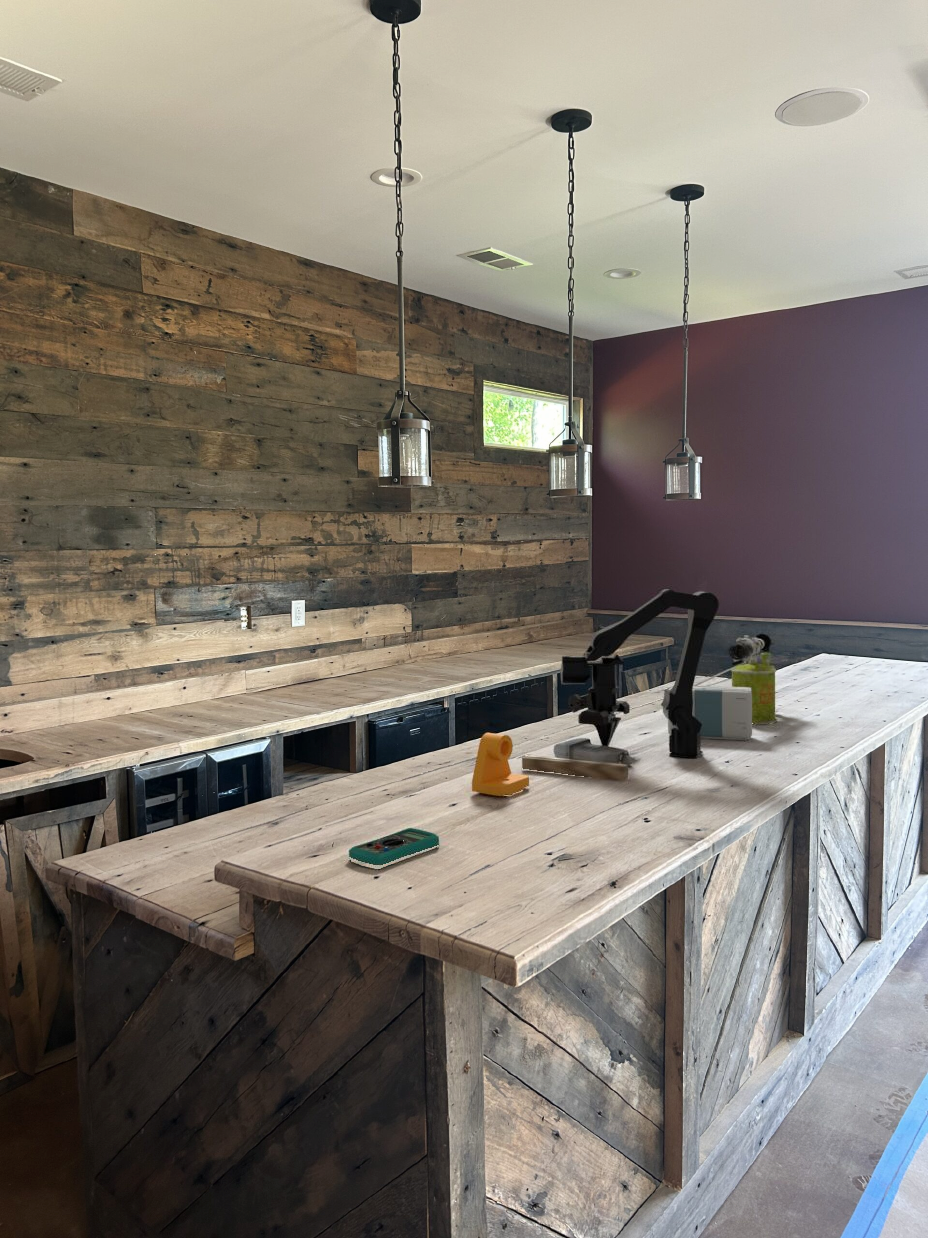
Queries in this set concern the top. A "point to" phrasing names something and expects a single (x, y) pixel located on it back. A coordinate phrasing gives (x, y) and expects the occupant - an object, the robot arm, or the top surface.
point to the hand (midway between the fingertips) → (605, 748)
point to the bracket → (496, 767)
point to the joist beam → (577, 767)
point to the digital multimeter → (394, 846)
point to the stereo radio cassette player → (722, 711)
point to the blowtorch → (755, 675)
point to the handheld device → (591, 752)
